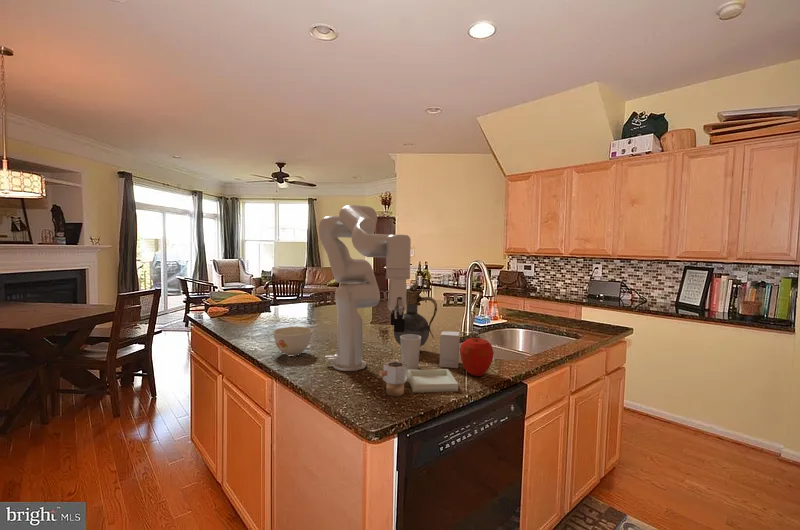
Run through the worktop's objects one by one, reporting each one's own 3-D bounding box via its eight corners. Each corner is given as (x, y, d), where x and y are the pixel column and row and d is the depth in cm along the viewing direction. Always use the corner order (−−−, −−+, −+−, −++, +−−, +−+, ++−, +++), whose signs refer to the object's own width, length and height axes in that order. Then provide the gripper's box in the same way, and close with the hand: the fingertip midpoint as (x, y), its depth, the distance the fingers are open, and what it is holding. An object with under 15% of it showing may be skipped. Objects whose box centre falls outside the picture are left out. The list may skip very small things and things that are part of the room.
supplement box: (458, 368, 145) (459, 335, 145) (438, 366, 147) (439, 334, 146) (459, 362, 153) (460, 331, 152) (440, 361, 154) (441, 330, 154)
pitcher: (397, 346, 175) (398, 281, 174) (438, 350, 170) (440, 283, 168) (390, 352, 165) (391, 283, 164) (433, 357, 160) (435, 286, 158)
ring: (400, 375, 125) (400, 360, 125) (410, 382, 119) (410, 366, 118) (376, 378, 121) (376, 363, 121) (385, 386, 115) (385, 369, 115)
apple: (454, 370, 143) (455, 333, 143) (483, 368, 146) (484, 332, 145) (467, 381, 131) (468, 341, 131) (499, 379, 134) (500, 340, 133)
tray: (413, 392, 121) (413, 384, 121) (407, 376, 135) (407, 369, 135) (458, 391, 122) (458, 383, 122) (447, 375, 137) (447, 369, 137)
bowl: (266, 353, 161) (266, 330, 160) (301, 347, 171) (301, 325, 171) (283, 362, 149) (283, 337, 148) (319, 355, 159) (319, 331, 159)
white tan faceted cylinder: (386, 396, 117) (387, 367, 117) (385, 389, 123) (386, 361, 122) (404, 395, 118) (405, 367, 118) (402, 388, 124) (403, 361, 123)
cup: (405, 372, 140) (406, 340, 139) (396, 366, 147) (396, 335, 146) (424, 369, 143) (425, 338, 143) (414, 363, 151) (414, 333, 150)
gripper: (384, 272, 127) (383, 323, 128) (388, 276, 110) (387, 334, 111) (406, 272, 128) (405, 322, 129) (414, 276, 111) (413, 334, 112)
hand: (397, 328), depth 120 cm, fingers open, 9 cm apart
